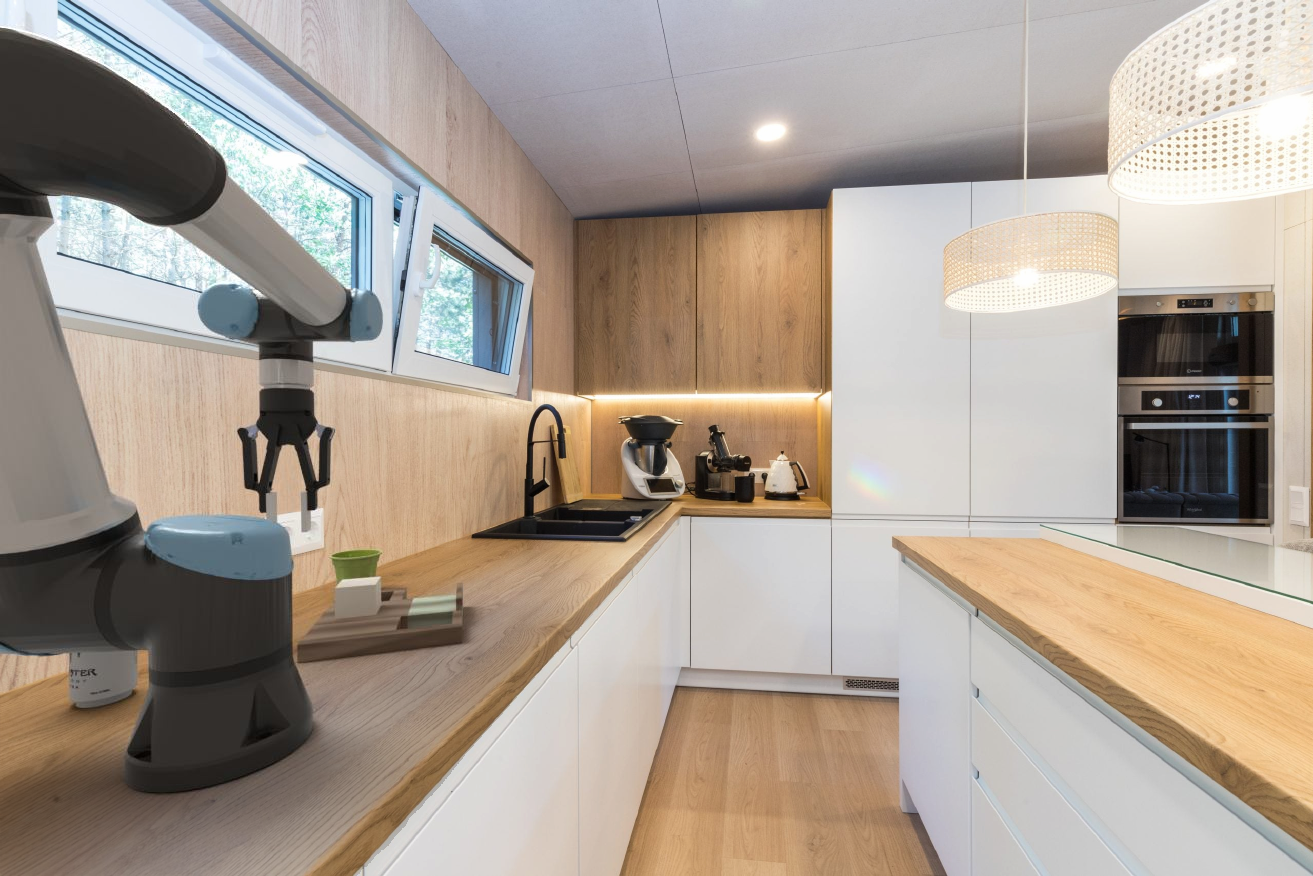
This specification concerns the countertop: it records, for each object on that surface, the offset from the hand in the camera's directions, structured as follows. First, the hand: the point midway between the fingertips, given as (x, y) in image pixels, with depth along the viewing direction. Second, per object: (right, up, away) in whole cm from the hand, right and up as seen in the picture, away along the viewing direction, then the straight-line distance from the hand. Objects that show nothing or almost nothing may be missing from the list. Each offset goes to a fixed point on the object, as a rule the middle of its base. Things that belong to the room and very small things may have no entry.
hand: (289, 531), depth 93 cm
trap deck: (+15, -16, +5) cm, 22 cm away
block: (+10, -14, +3) cm, 17 cm away
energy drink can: (-8, -17, -23) cm, 29 cm away
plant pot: (-1, -17, +23) cm, 28 cm away
